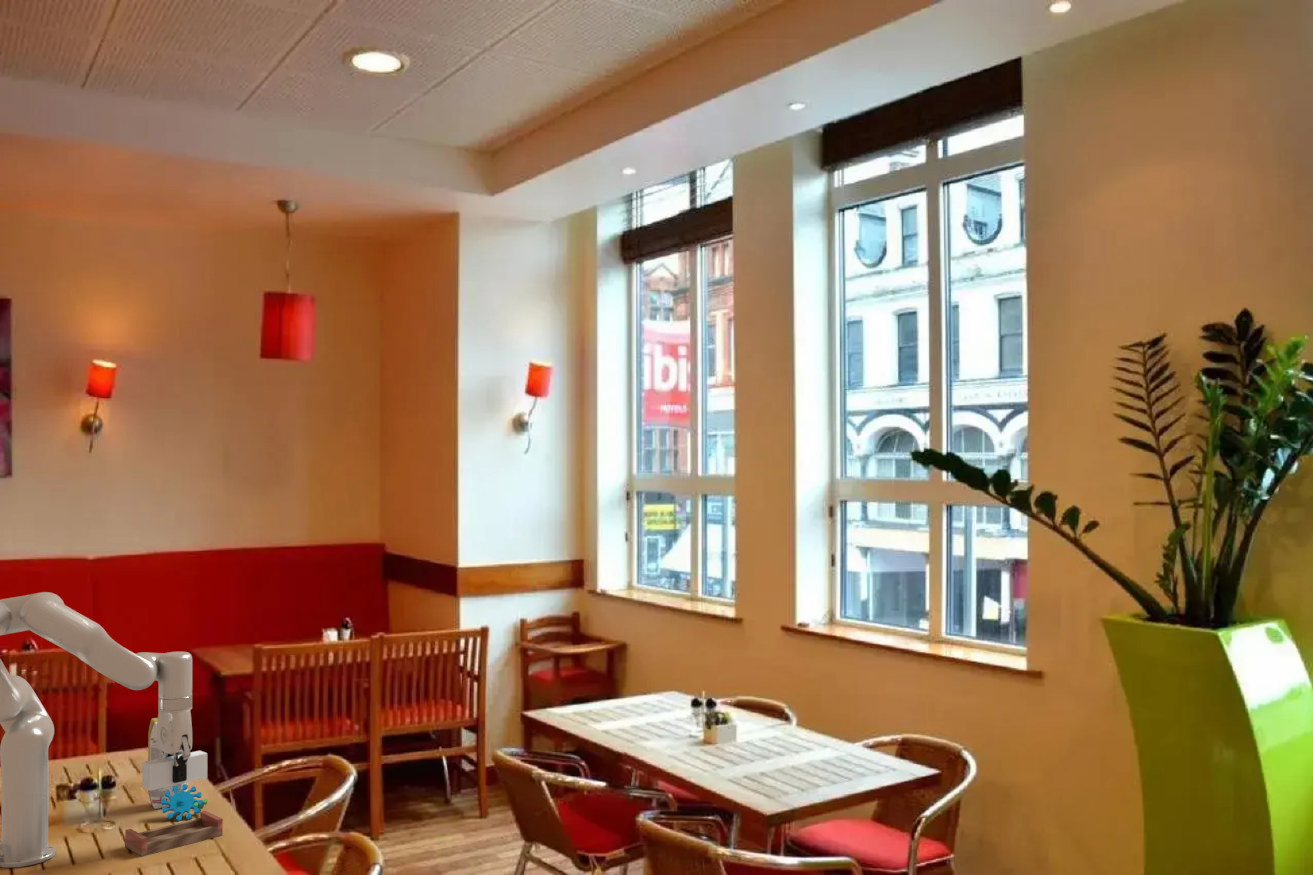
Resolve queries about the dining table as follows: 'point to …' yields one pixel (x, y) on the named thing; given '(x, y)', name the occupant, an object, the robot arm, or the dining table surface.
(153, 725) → the juice carton
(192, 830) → the cradle
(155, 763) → the long white brick
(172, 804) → the blue spiky virus model
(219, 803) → the dining table surface
